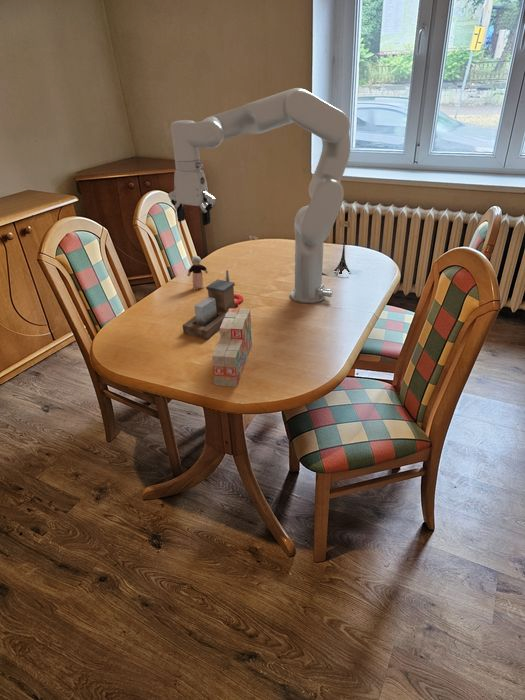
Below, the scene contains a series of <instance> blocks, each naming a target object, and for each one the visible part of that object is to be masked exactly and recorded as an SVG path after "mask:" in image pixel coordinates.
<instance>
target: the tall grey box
mask: <svg viewBox="0 0 525 700" xmlns="http://www.w3.org/2000/svg"><path fill="white" fill-rule="evenodd" d="M193 307H194V314H195V316H196V325H199V326H203V327H206V326H207V325H208V324H209V323H211V322H212V321H213V320H215V319H216V318H217V312H216V300H215V298H210V297H208V296H207V297H205V298H203V299H202V300H201V301H199V302H198V303H196V304H195V305H194V306H193Z"/></svg>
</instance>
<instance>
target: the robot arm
mask: <svg viewBox="0 0 525 700" xmlns="http://www.w3.org/2000/svg"><path fill="white" fill-rule="evenodd" d="M293 123H294V124H296V125H297V126H299V127H301V128H302V129H303V130H306V131H307V132H309V133H311V134H313V135H315V136H316V137H318V138H320V139H321V142H322V148H321V153H320V157H319V160H318V163H317V166H316V168H315V171H314V173H313V176H312V178H311V180H310V182H309V185H308V195H309V197H310V201H309V204H307V205H304V206H302V207H300V208H299V209H298V211H297V212H296V214H295V217H294V222H293V223H294V243H295V245H294V249H295V250H294V288H293V289H292V290H291V291H290V292H289V293H290V294H289V297H290V298H291V300H293V301H295V302H297V303H301V304H316V303H319V302H321V301H322V302H323V300H325V298H326V297H327V298H332V296H333V291H332V289H331V288H326V287H325V283H323V282H322V281H323V275H322V273H323V264H324V263H323V262H324V261H323V260H324V246H325V245H324V241H325V240H326V239H327V238H328V237H329V235H330V234H331V232H332V230H333V227H334V224H335V223H336V220H337V217H338V215H339V213H340V210H341V208H342V205H343V202H344V196H345V192H344V187H343V185H342V183H341V182H342V178H343V175H344V173H345V170H346V167H347V164H348V161H349V159H350V154H351V137H350V128H351V123H350V118H349V117H348V116H347V114H346V113H345V112H344V111H343V110H341V109H339V108H337V107H335V106H333V105H332V104H330V103H328V102H326V101H325V100H323V99H321V98H319V97H318V96H317V95H315V94H313V93H311V92H310V91H308V90H307V89H304V88H300V87H294V88H291V89H288V90H284V91H281V92H277V93H275V94H273V95H269V96H266V97H264V98H260V99H257V100H254V101H251V102H248V103H245V104H243V105H242V106H241V105H240V106H238V107H235V108H232V109H229V110H226V111H223V112H220V113H217V114H214V115H210V116H208V117H206V118H204V119H203V120H202V121H195V120H191V119H190V120H189V119H181V120H179V119H178V120H176V121H173V122H172V123H171V125H170V131H171V136H172V137H171V139H172V147H173V154H174V155H173V156H174V165H175V170H174V175H173V176H174V178H173V179H174V181H173V182H174V184H173V185H174V189H173V191H170V192H169V193H168V194H167V196H168V198H169V200H170V203H171V204H172V205H173V207H174V210H176V217H177V222H179V223H181V222H183V221H185V220H186V212H185V207H184V205H185V206H186V205H187V206H193V207H194V206H196V207H200V209H201V211H202V212H201V218H202V225H203V226H208V225H209V224H211V217H210V216H211V211H212V209H213V208H214V207H215V206H214V205H215V203H216V199H217V198H216V197H215V196H213V195H212V194H211V193H210V192H209V189H208V182H207V178H206V174H205V171H204V170H202V168H204V163H203V162H201V154H200V148H204V149H215V148H218V147H220V145H221V144H222V143H223V141H225V140H228V139H232V138H235V137H239V136H242V135H258V134H263V133H266V132H269V131H272V130H275V129H279V128H281V127H284V126H286V125H291V124H293Z"/></svg>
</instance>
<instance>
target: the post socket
mask: <svg viewBox="0 0 525 700" xmlns="http://www.w3.org/2000/svg"><path fill="white" fill-rule="evenodd" d="M235 283H236V282H233V281H230V280H229V281H226V280H222V279H219V278H218V279H216V280H214V281H213V282H210V283H209V284H207V286H206V291H207V293H208V294H207V297H210V298H215V300H216V312H217V318H216V319H215V320H213V321H212V322H211V323H209V324H208V325H207V326H206V327H203V326H199V325H196V316H193V317H192V318H190V319H189V320H187V321H186V322H185V323H183V324H182V331H183V332H182V333H183V334H184V335H188V336H191V337H196V338H199V339H203V340H207V341H208V340H210V338H212V337H213V336H214V335H215V334H217V333H218V332H220V326H221V324H222V321H223V319H224V318H225V315H226V313H227V312H228V309H229V308H236V306H235V303H234V301H235V298H234V294H235V292H234V291H235V288H234V286H235Z"/></svg>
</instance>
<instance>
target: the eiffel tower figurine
mask: <svg viewBox="0 0 525 700" xmlns="http://www.w3.org/2000/svg"><path fill="white" fill-rule="evenodd" d="M345 246H346V244H345V243H342V252H341V253H342V254H341V259H340V261H339V263H338V264H337V266H336V268H335V269H334V270H333V271H337V270H340V272H339V274H342V271H343V270H344V269H346V270H347V271H348V272H350V273H351V271H350V270H349V268H348V265H347V263H346V256H345V255H346V254H345V253H346V252H345V251H346V249H345Z"/></svg>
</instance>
